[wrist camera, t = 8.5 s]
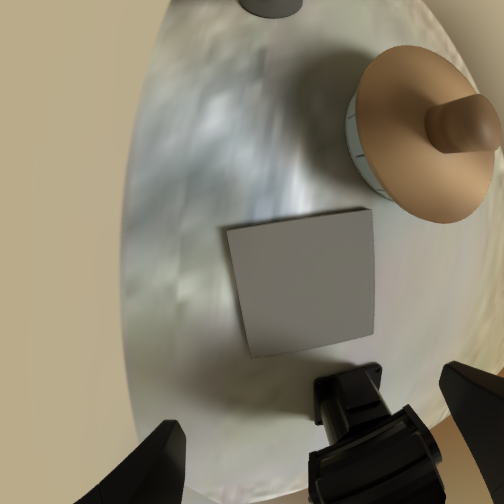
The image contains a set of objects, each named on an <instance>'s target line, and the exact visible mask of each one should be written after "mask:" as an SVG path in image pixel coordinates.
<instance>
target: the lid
mask: <svg viewBox="0 0 504 504" xmlns="http://www.w3.org/2000/svg"><path fill="white" fill-rule="evenodd" d="M355 118H356V125H357V131H358V136H359V140H360V144H361V147H362V150H363V152H364V155H365V158H366V160H367V162H368V164H369V167H370V169H371V170H372V172H373V174H374V176H375V177H376V179H377V181H378V182H379V184H380V185H381V186H382V188H383V189H384V191H385V192H386V193H387V194H388V195H389V196H390V197H391V199H392V200H393V201H394V202H396V203H397V204H398V205H399V206H400V207H401V208H403V209H404V210H405V211H407V212H408V213H410V214H412V215H414V216H416V217H418V218H421V219H424V220H427V221H431V222H434V223H442V224H446V223H454V222H458V221H460V220H462V219H464V218H466V217H468V216H469V215H470V214H472V213H473V212H474V211H475V210H476V209H477V208H478V207H479V205H480V204H481V202H482V201H483V199H484V197H485V196H486V194H487V191H488V189H489V186H490V183H491V179H492V176H493V169H494V151H495V150H497V149H498V148H499V146H500V143H501V137H502V131H501V125H500V121H499V117H498V115H497V113H496V111H495V109H494V107H493V106H492V104H491V103H490V101H489V100H488V99H487V98H485V97H484V96H483V95H480V94H477V93H476V91H475V89H474V88H473V86H472V85H471V84H470V82H469V81H468V80H467V78H466V77H465V76H464V75H463V74H462V73H461V72H460V71H459V70H458V69H457V68H456V67H455V66H454V65H453V64H452V63H450V62H449V61H448V60H446V59H445V58H443V57H442V56H440V55H438V54H437V53H435V52H432V51H430V50H428V49H425V48H421V47H417V46H397V47H393V48H390V49H388V50H386V51H384V52H383V53H381V54H380V55H379V56H377V57H376V58H375V59H374V60H373V61H372V62H371V63H370V64H369V65H368V66H367V68H366V69H365V71H364V72H363V74H362V77H361V79H360V81H359V84H358V88H357V92H356V101H355Z"/></svg>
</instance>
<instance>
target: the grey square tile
mask: <svg viewBox="0 0 504 504" xmlns="http://www.w3.org/2000/svg"><path fill="white" fill-rule="evenodd" d="M227 236H228V242H229V247H230V253H231V258H232V264H233V269H234V274H235V279H236V285H237V290H238V295H239V300H240V305H241V310H242V316H243V321H244V326H245V331H246V336H247V340H248V345H249V350H250V355H251V358H258V357H265V356H272V355H278V354H284V353H290V352H296V351H301V350H307V349H312V348H317V347H322V346H327V345H331V344H336V343H340V342H345V341H349V340H353V339H357V338H361V337H365V336H369V335H373V331H374V307H375V261H374V237H373V221H372V210H371V209H363V210H355V211H348V212H340V213H333V214H326V215H319V216H312V217H305V218H298V219H291V220H285V221H278V222H271V223H265V224H259V225H252V226H246V227H240V228H234V229H228V230H227Z"/></svg>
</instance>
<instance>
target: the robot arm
mask: <svg viewBox="0 0 504 504" xmlns="http://www.w3.org/2000/svg"><path fill="white" fill-rule="evenodd" d="M376 369H377V370H376ZM381 375H382V367H381V365H380V364H375V365H371V366H368V367H364V368H361V369H357V370H353V371H349V372H345V373H341V374H337V375H332V376H328V377H323V378H319V379H316V380H315V381H314V382H313V398H314V422H315V425H324V427H325V431H326V434H327V438H328V441H329V445H330V446H328V447H326V448H323V449H321V450H318V451H313V452H311V453H309V461H308V491H309V496H308V500H309V502H310V503H311V504H445V500H446V494H445V492H444V485H443V482H442V480H441V477H440V475H439V472H438V470H437V467H436V466H437V465H438V464H440V463H441V462H442V456H441V453H440V450H439V448H438V445H437V443H436V441H435V439H434V437H433V436H432V434H431V433H430V431H429V430H428V428H427V427H426V426H425V424H424V423H423V422H422V420H421V419H420V418H419V417H418V415H417V414H416V413H415V412H414V410H413V409H412V408H411V406H410V405H409V404H407V405H406V406H404V407H403V409H401V410H399V411H398V412H396V413H394V414H393V415H392V414H391V412H390V410H389V408H388V407H387V405H386V403H385V401H384V400H383V398H382V396H381V394H380V392H379V388H380V382H381ZM319 383H321V384H319ZM317 384H319V385H317ZM439 387H440V389H441V392H442V394H443V396H444V398H445V401H446V403H447V405H448V408H449V410H450V412H451V415H452V417H453V419H454V421H455V423H456V425H457V426H458V428H459V430H460V432H461V434H462V436H463V437H464V440H465V441H466V443H467V445H468V447H469V449H470V451H471V453H472V455H473V457H474V459H475V461H476V463H477V465H478V467H479V469H480V472H481V474H482V476H483V479H484V481H485V483H486V485H487V488H488V490H489V492H490V494H491V498H492V500H493V503H494V504H504V378H503V377H500V376H497V375H494V374H491V373H488V372H485V371H482V370H479V369H476V368H474V367H471V366H468V365H465V364H462V363H460V362H457V361H451V362H449V363H447V364H445V365H444V367H443V369H442V373H441V376H440V380H439ZM185 461H186V436H185V433H184V432H183V430H182V428H181V426H180V424H179V422H178V421H177V420H164V421H163V422H162V423H161V424H160V425H159V426H158V427H157V428H156V429H155V430H154V431H153V432H152V433H151V434H150V435H149V436H148V437H147V438H146V439H145V440H144V441H143V442H142V443H141V444H140V445H139V446H138V447H137V448H136V449H135V450H134V451H133V452H132V453H130V454H129V455H128V456H127V457H126V458H125V459H124V460H123V461H122V462H121V463H120V464H119V465H118V466H117V467H116V468H115V469H114V470H113V471H112V472H110V473H109V474H108V475H107V476H106V477H105V478H104V479H103V480H102V481H101V482H100V483H99V484H97V485H96V486H95V487H94V488H93V489H92V490H90V491H89V492H88V493H87V494H86V495H84V496H83V497H82V498H81V499H79V500H78V501H76V502H75V503H73V504H181V501H182V495H183V488H184V481H185Z"/></svg>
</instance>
